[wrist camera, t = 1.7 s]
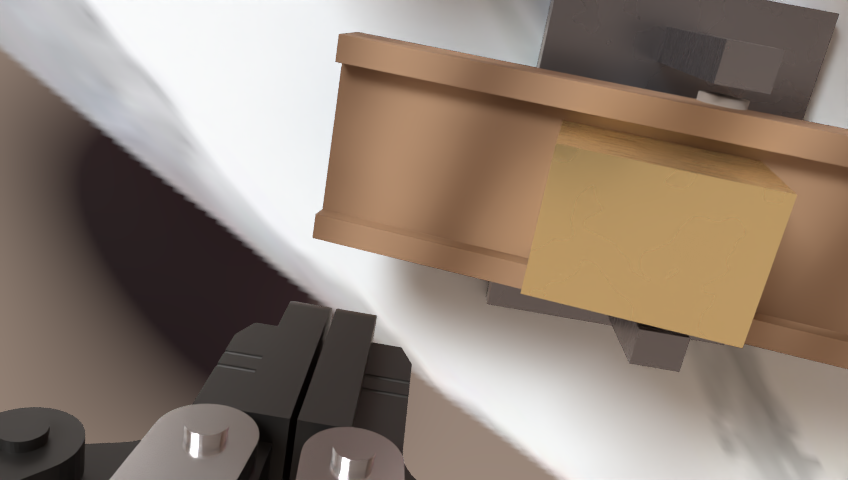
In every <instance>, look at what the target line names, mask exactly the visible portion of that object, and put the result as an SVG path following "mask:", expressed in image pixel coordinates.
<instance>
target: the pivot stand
mask: <svg viewBox="0 0 848 480" xmlns="http://www.w3.org/2000/svg"><path fill="white" fill-rule="evenodd" d="M838 16H839V14H837V13H832V12H826V11H821V10H816V9H810V8H805V7H799V6H794V5H788V4H783V3H778V2H772V1H767V0H551V4H550V8H549V13H548V17H547V22H546V26H545V31H544V36H543V40H542V45H541V49H540V54H539V58H538V63H537V67H536V68H541V69H546V70H552V71H557V72H562V73H567V74H572V75H577V76H582V77H587V78H592V79H597V80H602V81H607V82H612V83H617V84H622V85H627V86H632V87H637V88H642V89H647V90H652V91H657V92H662V93H667V94H672V95H677V96H683V97H688V98H693V99H696V98H697V95H698V91H700V90H701V91H710V92H715V93H721V94H726V95H730V96H734V97H738V98H742V99H745V100H748V101H750V103H749V106H748V110H753V111H758V112H763V113H768V114H773V115H778V116H783V117H788V118H793V119H798V120H803V117H804V114H805V111H806V108H807V105H808V102H809V99H810V97H811V94H812V91H813V88H814V85H815V82H816V79H817V76H818V73H819V71H820V68H821V65H822V62H823V59H824V56H825V53H826V50H827V48H828V45H829V42H830V39H831V36H832V33H833V30H834V27H835V24H836V22H837V19H838ZM520 293H521V289H519V288H515V287H511V286H507V285H503V284H499V283H495V282H491V281H489V286H488V290H487V295H486V297H487V304H491V305H497V306H503V307H508V308H514V309H520V310H526V311H531V312H537V313H543V314H549V315H555V316H560V317H566V318H572V319H578V320H583V321H589V322H595V323H601V324H606V325H612V326H613V329H614V331H615V333H616V335H617V337H618V339H619V342H620V344H621V346H622V348H623V350H624V352H625V355H626V357H627V359H628V361H629V363H631V364H637V365H642V366H648V367H654V368H660V369H666V370H671V371H677V372H679V371H680V368H681V365H682V362H683V359H684V356H685V353H686V350H687V347H688V344H689V341H690V339H693V340H699V341H704V342H710V343H716V344H722V345H724V344H723V343H719V342H715V341H711V340H707V339H703V338H699V337H695V336H691V335H687V334H683V333H679V332H674V331H670V330H666V329H662V328H658V327H654V326H650V325H646V324H642V323H638V322H634V321H630V320H626V319H622V318H618V317H614V316H610V315H605V314H601V313H597V312H593V311H589V310H585V309H581V308H577V307H573V306H569V305H565V304H561V303H557V302H553V301H549V300H545V299H541V298H537V297H532V296H528V295H524V294H520Z"/></svg>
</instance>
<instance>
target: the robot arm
mask: <svg viewBox="0 0 848 480" xmlns="http://www.w3.org/2000/svg"><path fill="white" fill-rule="evenodd" d="M331 317H332V308H329V307H323V306H318V305H312V304H306V303H300V302H294V301H291V302H290V303H289V305H288V307H287V309H286V311H285V313H284V315H283V317H282V319H281V321H280V323H279V325H278V326H272V325H266V324H260V323H254V324H252V325H251V326H249V327H247V328H245V329H244V330H242V331H240V332H238V333H237V334H235V335H234V337H233V339H232V340H231V342H230V344H229V345H228V347H227V348H226V351H225V353H224V354H223V355H222V357H221V358H220V360H219V362H218V365H217V367H215V368H214V370H213V371H212V373H211V375H210V376H209V378H208V380H207V381H206V383H205V384H204V386H203V388H202V389H201V391H200V393H199V394H198V396H197V398H196V399H195V401H194V403H193V404H192V405H189V406H184V407H181V408H178V409H175V410H173V411H171V412H169V413H167V414H165V415H164V416H162V417H161V418H160V419H159V420H158V421H157V422H156V423H155V424H154V426H153V427H152V428H151V429H150V430H149V432H148V433H147V434H146V435H145V437H144V438H143V439H142V440H138V441H133V442H122V443H100V444H85V430H84V427H83V425H82V424H81V422H80V421H79V420H78V419H77V418H75V417H74V416H72V415H70V414H68V413H66V412H63V411H60V410H56V409H51V408H41V407H39V408H38V407H33V408H32V407H31V408H19V409H13V410H8V411H4V412H1V413H0V480H416V479H415V478H414V477H413V476H412V475H411V474H410V472H409V471H408V470H407V468H406V466H405V464H404V459H403V443H404V433H405V423H406V414H407V404H408V395H409V384H410V374H411V366H412V364H411V362H410V361H409V359H408V357H407V356H406V354H405V353H404V351H403V349H402V348H401V347H395V346H390V345H384V344H378V343H373V337H374V331H375V325H376V319H377V316H376V315H371V314H365V313H359V312H353V311H347V310H342V309H336V311H335V314H334V317H333V320H332V323H331ZM330 325H331V326H330Z"/></svg>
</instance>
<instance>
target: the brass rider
mask: <svg viewBox="0 0 848 480" xmlns="http://www.w3.org/2000/svg"><path fill="white" fill-rule="evenodd" d="M796 197H797V194H796V193H795V192H794V191H793V190H791V189H790V188H789V187H788V186H787V185H786V184H785V183H784V182H783V181H782V180H781V179H780V178H779V177H778V176H777V175H775V174H774V173H773V172H772V171H771V170H770V169H769V168H768V167H767V166H766V165H765V164H764V163H763V162H762V161H759V160H754V159H749V158H744V157H739V156H734V155H730V154H725V153H720V152H715V151H710V150H706V149H701V148H696V147H691V146H686V145H682V144H677V143H672V142H667V141H662V140H658V139H653V138H648V137H643V136H638V135H634V134H629V133H624V132H619V131H614V130H610V129H605V128H600V127H595V126H590V125H586V124H581V123H576V122H571V121H566V120H563V121H562V125H561V128H560V131H559V135H558V138H557V141H556V145H555V149H554V154H553V158H552V162H551V166H550V171H549V175H548V179H547V183H546V187H545V192H544V196H543V200H542V204H541V209H540V213H539V217H538V221H537V225H536V230H535V234H534V238H533V242H532V247H531V251H530V255H529V259H528V264H527V268H526V272H525V276H524V280H523V285H522V289H521V293H520V294H524V295H528V296H532V297H537V298H541V299H545V300H549V301H553V302H557V303H561V304H565V305H569V306H573V307H577V308H581V309H585V310H589V311H593V312H597V313H601V314H605V315H610V316H614V317H618V318H622V319H626V320H630V321H634V322H638V323H642V324H646V325H650V326H654V327H658V328H662V329H666V330H670V331H674V332H679V333H683V334H687V335H691V336H695V337H699V338H703V339H707V340H711V341H715V342H719V343H723V344H727V345H731V346H735V347H739V348H743V346H744V343H745V340H746V337H747V334H748V332H749V329H750V326H751V323H752V320H753V318H754V315H755V312H756V309H757V306H758V304H759V301H760V298H761V295H762V292H763V290H764V287H765V284H766V281H767V278H768V276H769V273H770V270H771V267H772V264H773V262H774V259H775V256H776V253H777V250H778V248H779V245H780V242H781V239H782V236H783V234H784V231H785V228H786V225H787V222H788V220H789V217H790V214H791V211H792V208H793V206H794V203H795V200H796Z"/></svg>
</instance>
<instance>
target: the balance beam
mask: <svg viewBox="0 0 848 480" xmlns="http://www.w3.org/2000/svg"><path fill="white" fill-rule="evenodd" d="M335 62H339V63H342V67H341V74H340V82H339V90H338V97H337V105H336V112H335V120H334V127H333V135H332V142H331V150H330V158H329V165H328V173H327V180H326V188H325V195H324V203H323V209H322V210H321V211H320V212H318V213H317V214H316V216H315V224H314V231H313V238H315V239H320V240H324V241H328V242H332V243H336V244H340V245H344V246H348V247H352V248H356V249H360V250H364V251H368V252H373V253H377V254H381V255H385V256H389V257H393V258H397V259H401V260H405V261H409V262H413V263H417V264H421V265H425V266H430V267H434V268H438V269H442V270H446V271H450V272H454V273H458V274H462V275H466V276H470V277H474V278H478V279H483V280H487V281H491V282H495V283H499V284H503V285H507V286H511V287H515V288H519V289H522V285H523V280H524V276H525V272H526V268H527V264H528V259H529V255H530V251H531V247H532V242H533V238H534V234H535V230H536V225H537V221H538V217H539V213H540V209H541V204H542V200H543V196H544V192H545V187H546V183H547V179H548V175H549V171H550V166H551V162H552V158H553V154H554V149H555V145H556V141H557V138H558V135H559V131H560V128H561V125H562V121H563V120H566V121H571V122H576V123H581V124H586V125H590V126H595V127H600V128H605V129H610V130H614V131H619V132H624V133H629V134H634V135H638V136H643V137H648V138H653V139H658V140H662V141H667V142H672V143H677V144H682V145H686V146H691V147H696V148H701V149H706V150H710V151H715V152H720V153H725V154H730V155H734V156H739V157H744V158H749V159H754V160H759V161H762V162H763V163H764V164H765V165H766V166H767V167H768V168H769V169H770V170H771V171H772V172H773V173H774V174H775V175H777V176H778V177H779V178H780V179H781V180H782V181H783V182H784V183H785V184H786V185H787V186H788V187H789V188H790V189H791V190H793V191H794V192H795V193H796V194H797V197H796V200H795V203H794V206H793V208H792V211H791V214H790V217H789V220H788V222H787V225H786V228H785V231H784V234H783V236H782V239H781V242H780V245H779V248H778V250H777V253H776V256H775V259H774V262H773V264H772V267H771V270H770V273H769V276H768V278H767V281H766V284H765V287H764V290H763V292H762V295H761V298H760V301H759V304H758V306H757V309H756V312H755V315H754V318H753V320H752V323H751V326H750V329H749V332H748V334H747V337H746V340H745V343H744V344H748V345H752V346H756V347H760V348H764V349H768V350H772V351H776V352H780V353H784V354H788V355H792V356H796V357H800V358H805V359H809V360H813V361H817V362H821V363H825V364H829V365H833V366H837V367H841V368H845V369H848V129H844V128H839V127H834V126H829V125H824V124H819V123H814V122H808V121H803V120H798V119H793V118H788V117H783V116H778V115H773V114H768V113H763V112H758V111H753V110H748V106H749V103H750V101H748V100H745V99H742V98H738V97H734V96H730V95H726V94H721V93H715V92H710V91H701V90H700V91H698V95H697V98H696V99H693V98H688V97H683V96H677V95H672V94H667V93H662V92H657V91H652V90H647V89H642V88H637V87H632V86H627V85H622V84H617V83H612V82H607V81H602V80H597V79H592V78H587V77H582V76H577V75H572V74H567V73H562V72H557V71H552V70H546V69H541V68H536V67H531V66H526V65H521V64H516V63H511V62H506V61H501V60H496V59H491V58H486V57H481V56H476V55H471V54H466V53H461V52H456V51H451V50H446V49H441V48H436V47H431V46H426V45H421V44H415V43H410V42H405V41H400V40H395V39H390V38H385V37H380V36H375V35H370V34H365V33H360V32H354V33H345V34H339V38H338V46H337V53H336V61H335Z"/></svg>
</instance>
